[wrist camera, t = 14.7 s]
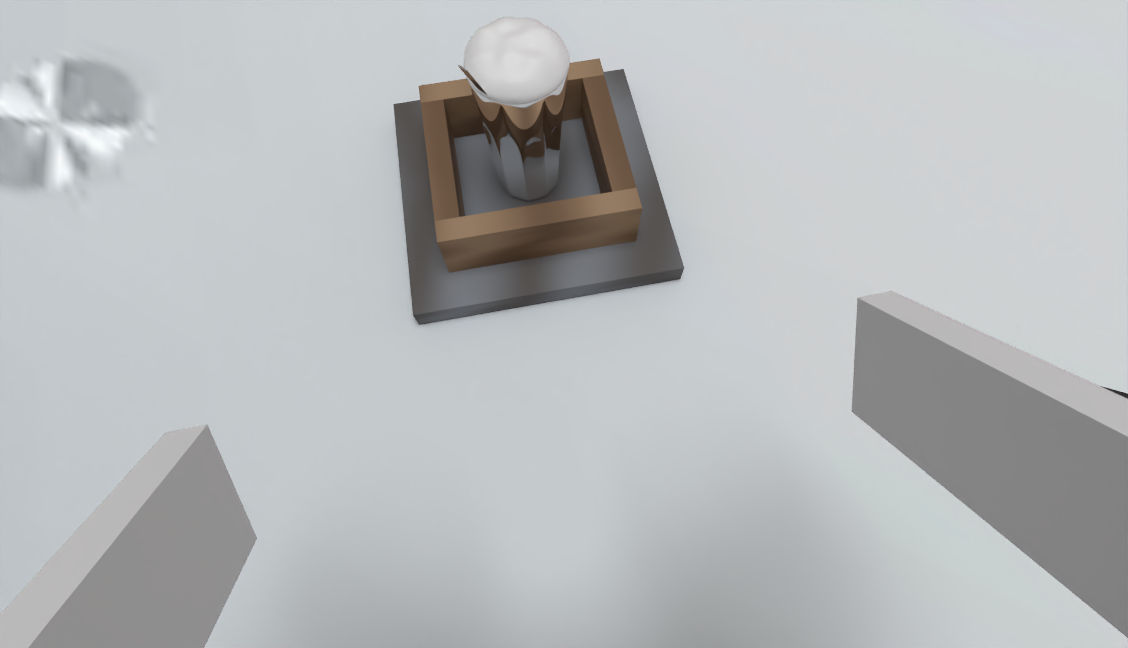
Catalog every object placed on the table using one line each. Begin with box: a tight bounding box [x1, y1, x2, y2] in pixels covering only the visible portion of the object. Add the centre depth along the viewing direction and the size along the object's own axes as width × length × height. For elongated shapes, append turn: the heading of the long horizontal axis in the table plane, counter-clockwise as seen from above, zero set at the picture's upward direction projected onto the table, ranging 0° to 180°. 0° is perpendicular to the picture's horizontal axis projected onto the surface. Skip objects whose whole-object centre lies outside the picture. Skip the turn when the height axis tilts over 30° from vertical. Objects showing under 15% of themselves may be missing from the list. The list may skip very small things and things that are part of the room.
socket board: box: [394, 59, 684, 324], centre depth 32 cm, size 14×14×4 cm
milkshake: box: [458, 17, 570, 201], centre depth 28 cm, size 4×5×10 cm
